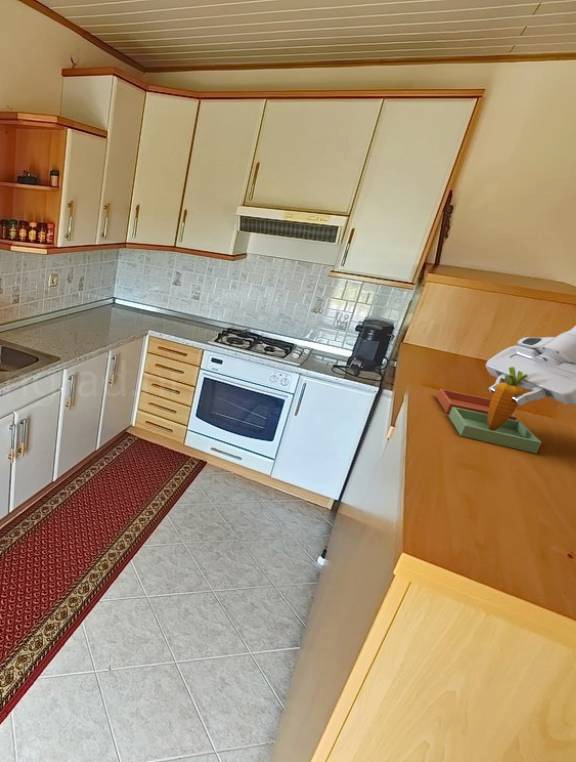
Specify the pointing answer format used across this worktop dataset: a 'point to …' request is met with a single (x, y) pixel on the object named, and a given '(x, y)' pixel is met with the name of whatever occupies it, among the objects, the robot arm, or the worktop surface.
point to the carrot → (504, 400)
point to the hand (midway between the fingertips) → (503, 396)
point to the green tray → (505, 435)
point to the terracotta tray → (464, 402)
